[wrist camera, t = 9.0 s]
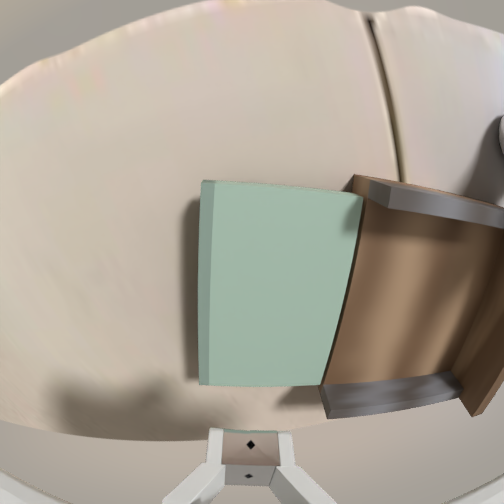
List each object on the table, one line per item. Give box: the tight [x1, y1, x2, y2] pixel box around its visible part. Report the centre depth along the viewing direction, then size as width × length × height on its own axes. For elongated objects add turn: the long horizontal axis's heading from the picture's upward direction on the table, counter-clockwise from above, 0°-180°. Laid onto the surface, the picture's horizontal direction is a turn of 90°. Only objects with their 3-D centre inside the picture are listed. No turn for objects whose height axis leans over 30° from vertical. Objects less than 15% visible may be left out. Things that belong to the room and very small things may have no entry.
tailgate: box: [198, 180, 363, 387], centre depth 21 cm, size 2×16×10 cm
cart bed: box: [318, 174, 504, 419], centre depth 20 cm, size 16×18×9 cm
